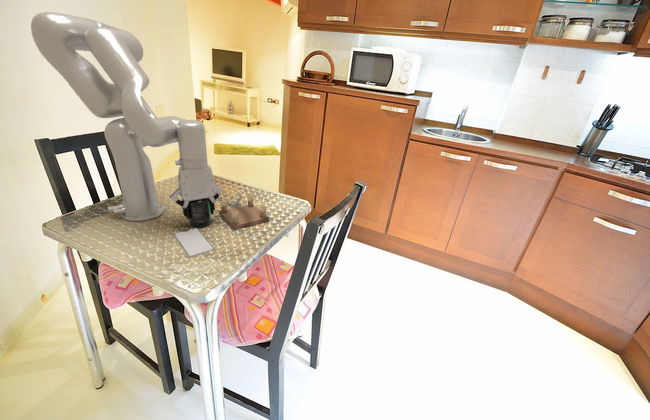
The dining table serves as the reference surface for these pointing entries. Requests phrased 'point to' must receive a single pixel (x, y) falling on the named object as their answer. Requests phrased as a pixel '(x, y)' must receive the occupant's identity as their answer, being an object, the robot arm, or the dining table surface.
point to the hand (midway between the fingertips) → (199, 214)
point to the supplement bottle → (199, 213)
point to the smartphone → (193, 242)
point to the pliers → (235, 203)
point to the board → (243, 214)
